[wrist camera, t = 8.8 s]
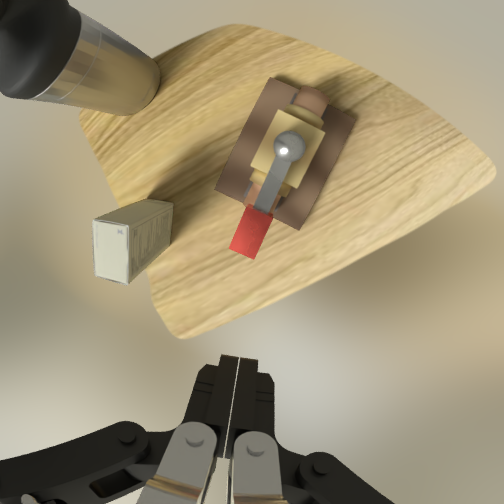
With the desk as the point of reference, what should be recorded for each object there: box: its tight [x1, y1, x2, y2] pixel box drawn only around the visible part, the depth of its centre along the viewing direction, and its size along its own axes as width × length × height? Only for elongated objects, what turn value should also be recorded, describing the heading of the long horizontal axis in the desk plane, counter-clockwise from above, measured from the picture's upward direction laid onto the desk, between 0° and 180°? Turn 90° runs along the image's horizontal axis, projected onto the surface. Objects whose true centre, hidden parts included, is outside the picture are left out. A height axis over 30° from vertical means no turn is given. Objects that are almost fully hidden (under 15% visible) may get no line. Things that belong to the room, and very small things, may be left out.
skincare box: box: [92, 199, 174, 285], centre depth 29 cm, size 6×4×12 cm
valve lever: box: [229, 131, 306, 259], centre depth 23 cm, size 11×3×2 cm, turn 157°
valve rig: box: [214, 77, 356, 230], centre depth 27 cm, size 15×11×8 cm
